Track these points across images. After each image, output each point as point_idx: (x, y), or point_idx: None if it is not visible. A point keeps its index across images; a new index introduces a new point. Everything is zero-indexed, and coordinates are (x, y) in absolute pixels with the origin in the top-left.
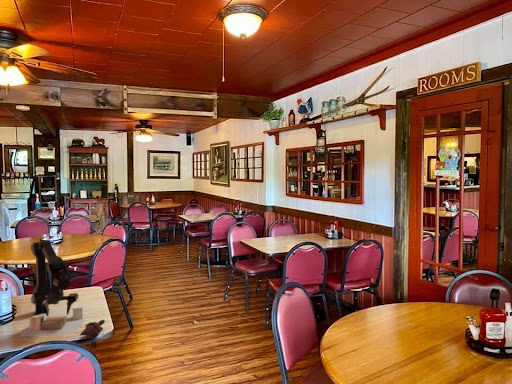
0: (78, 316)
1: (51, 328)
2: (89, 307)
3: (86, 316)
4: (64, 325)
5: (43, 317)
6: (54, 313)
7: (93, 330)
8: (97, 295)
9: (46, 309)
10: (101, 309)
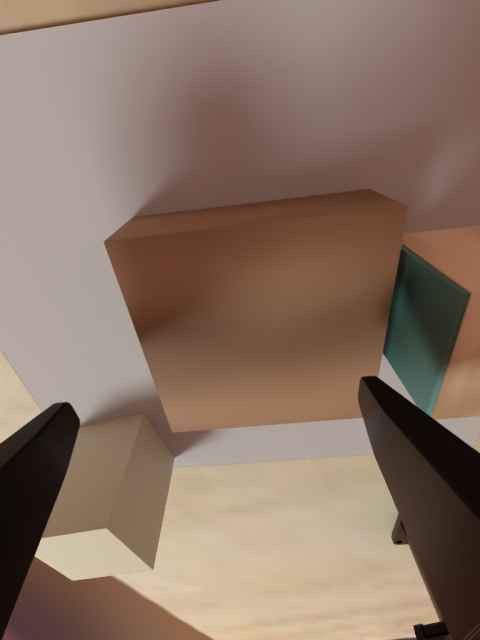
0: (95, 443)
1: (251, 207)
2: None
3: None
4: None
5: (421, 384)
6: (346, 503)
7: None
8: (195, 617)
9: (458, 493)
10: None
